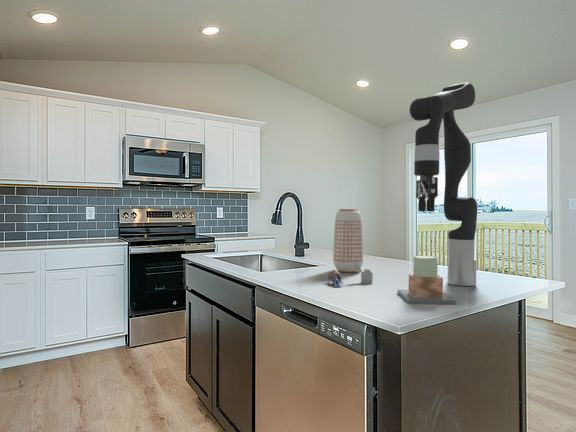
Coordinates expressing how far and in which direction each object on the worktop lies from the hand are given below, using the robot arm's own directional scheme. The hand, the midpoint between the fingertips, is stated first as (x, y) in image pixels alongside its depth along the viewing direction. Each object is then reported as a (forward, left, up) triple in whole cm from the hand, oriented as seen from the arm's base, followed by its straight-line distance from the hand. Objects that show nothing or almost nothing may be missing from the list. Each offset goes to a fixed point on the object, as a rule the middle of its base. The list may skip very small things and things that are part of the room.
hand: (426, 211), depth 123 cm
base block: (0, 0, -27) cm, 27 cm away
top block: (0, 0, -21) cm, 21 cm away
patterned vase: (+19, -51, -28) cm, 61 cm away
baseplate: (0, 0, -28) cm, 28 cm away
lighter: (+16, -25, -28) cm, 41 cm away
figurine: (+27, -21, -28) cm, 44 cm away
